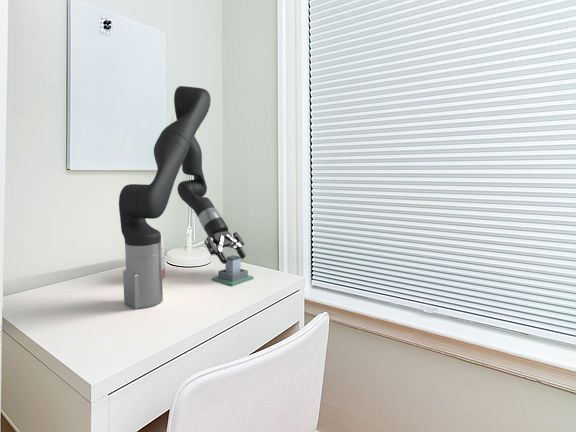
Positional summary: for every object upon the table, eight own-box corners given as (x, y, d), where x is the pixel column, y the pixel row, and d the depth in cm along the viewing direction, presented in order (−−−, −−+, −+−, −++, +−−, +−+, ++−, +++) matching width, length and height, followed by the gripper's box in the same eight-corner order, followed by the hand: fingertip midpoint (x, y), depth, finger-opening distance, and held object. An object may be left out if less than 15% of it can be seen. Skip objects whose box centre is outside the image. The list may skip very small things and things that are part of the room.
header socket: (232, 286, 109) (232, 277, 108) (212, 279, 115) (212, 271, 114) (253, 278, 116) (253, 270, 116) (233, 272, 122) (233, 265, 122)
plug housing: (232, 279, 113) (232, 259, 112) (225, 276, 115) (225, 257, 114) (240, 276, 116) (240, 257, 115) (233, 274, 118) (233, 255, 117)
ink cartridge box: (151, 275, 118) (150, 234, 116) (165, 275, 117) (164, 235, 116) (140, 283, 109) (138, 239, 107) (155, 284, 109) (154, 240, 107)
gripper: (201, 218, 112) (224, 257, 106) (232, 214, 123) (255, 250, 118) (192, 232, 116) (213, 270, 110) (223, 227, 127) (244, 261, 122)
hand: (235, 259), depth 114 cm, fingers open, 8 cm apart
